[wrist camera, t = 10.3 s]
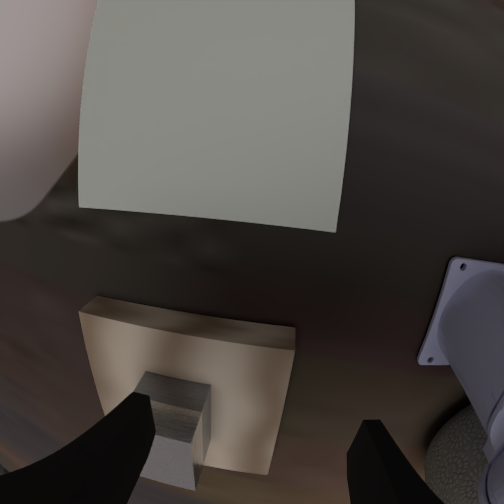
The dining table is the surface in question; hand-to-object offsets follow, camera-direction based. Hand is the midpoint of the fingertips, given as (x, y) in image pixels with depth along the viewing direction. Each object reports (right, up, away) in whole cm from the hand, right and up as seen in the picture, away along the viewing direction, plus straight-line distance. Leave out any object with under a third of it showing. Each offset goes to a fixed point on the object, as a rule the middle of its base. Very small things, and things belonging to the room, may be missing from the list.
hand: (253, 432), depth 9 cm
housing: (-5, -5, +11) cm, 13 cm away
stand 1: (-2, +15, +6) cm, 16 cm away
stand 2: (-5, -5, +13) cm, 15 cm away
